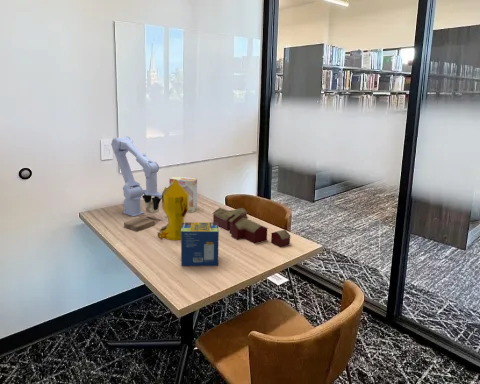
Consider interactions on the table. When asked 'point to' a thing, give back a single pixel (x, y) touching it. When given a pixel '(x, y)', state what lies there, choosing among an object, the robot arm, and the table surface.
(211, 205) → the table surface
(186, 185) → the coffeecake box
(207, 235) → the protein box
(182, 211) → the yellow faceted tall shape
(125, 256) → the table surface
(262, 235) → the toy houses
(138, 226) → the walnut slab
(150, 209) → the maple cube
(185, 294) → the table surface
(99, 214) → the table surface
